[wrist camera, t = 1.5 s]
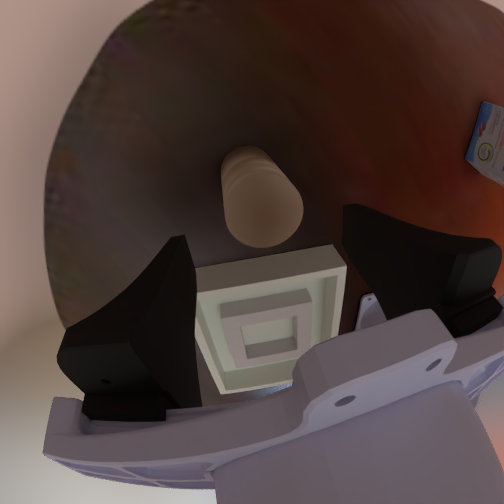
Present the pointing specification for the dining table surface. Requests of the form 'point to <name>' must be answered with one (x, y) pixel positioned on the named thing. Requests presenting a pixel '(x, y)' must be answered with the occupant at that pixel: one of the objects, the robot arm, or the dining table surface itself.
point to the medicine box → (488, 143)
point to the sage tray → (267, 314)
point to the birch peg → (258, 198)
